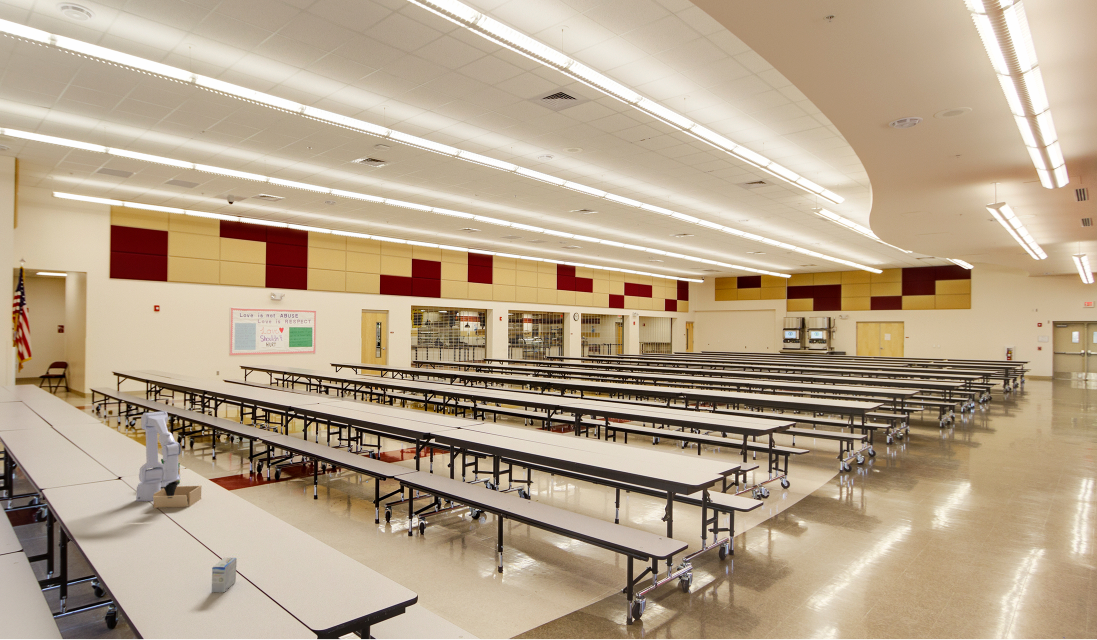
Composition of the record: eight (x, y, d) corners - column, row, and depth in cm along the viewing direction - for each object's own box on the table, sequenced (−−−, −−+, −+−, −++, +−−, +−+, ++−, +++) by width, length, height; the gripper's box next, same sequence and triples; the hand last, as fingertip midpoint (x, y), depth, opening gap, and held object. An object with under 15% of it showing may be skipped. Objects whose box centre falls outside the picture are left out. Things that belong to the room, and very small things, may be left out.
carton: (153, 509, 266) (153, 493, 266) (166, 501, 278) (166, 486, 278) (190, 507, 269) (190, 492, 269) (201, 500, 281) (201, 485, 281)
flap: (155, 507, 266) (153, 496, 264) (155, 507, 267) (153, 496, 264) (188, 506, 269) (185, 495, 266) (188, 505, 269) (186, 495, 267)
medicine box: (222, 582, 194) (223, 557, 194) (236, 582, 194) (236, 557, 194) (211, 593, 186) (211, 567, 186) (225, 592, 186) (225, 566, 186)
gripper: (172, 473, 259) (172, 502, 259) (187, 465, 274) (186, 493, 274) (155, 473, 258) (155, 502, 258) (171, 465, 272) (170, 493, 272)
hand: (170, 497), depth 266 cm, fingers closed, pressing on flap
